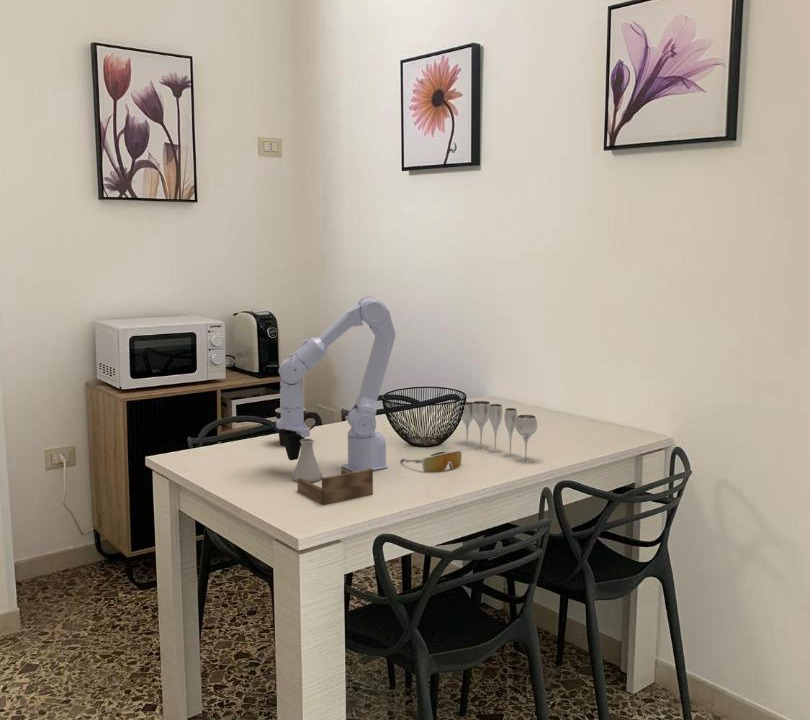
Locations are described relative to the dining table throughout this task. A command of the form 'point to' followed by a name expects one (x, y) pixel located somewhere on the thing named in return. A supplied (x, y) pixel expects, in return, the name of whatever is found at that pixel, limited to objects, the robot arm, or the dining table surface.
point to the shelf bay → (339, 486)
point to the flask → (307, 463)
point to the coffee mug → (278, 416)
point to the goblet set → (484, 411)
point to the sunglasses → (439, 461)
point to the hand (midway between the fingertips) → (293, 459)
